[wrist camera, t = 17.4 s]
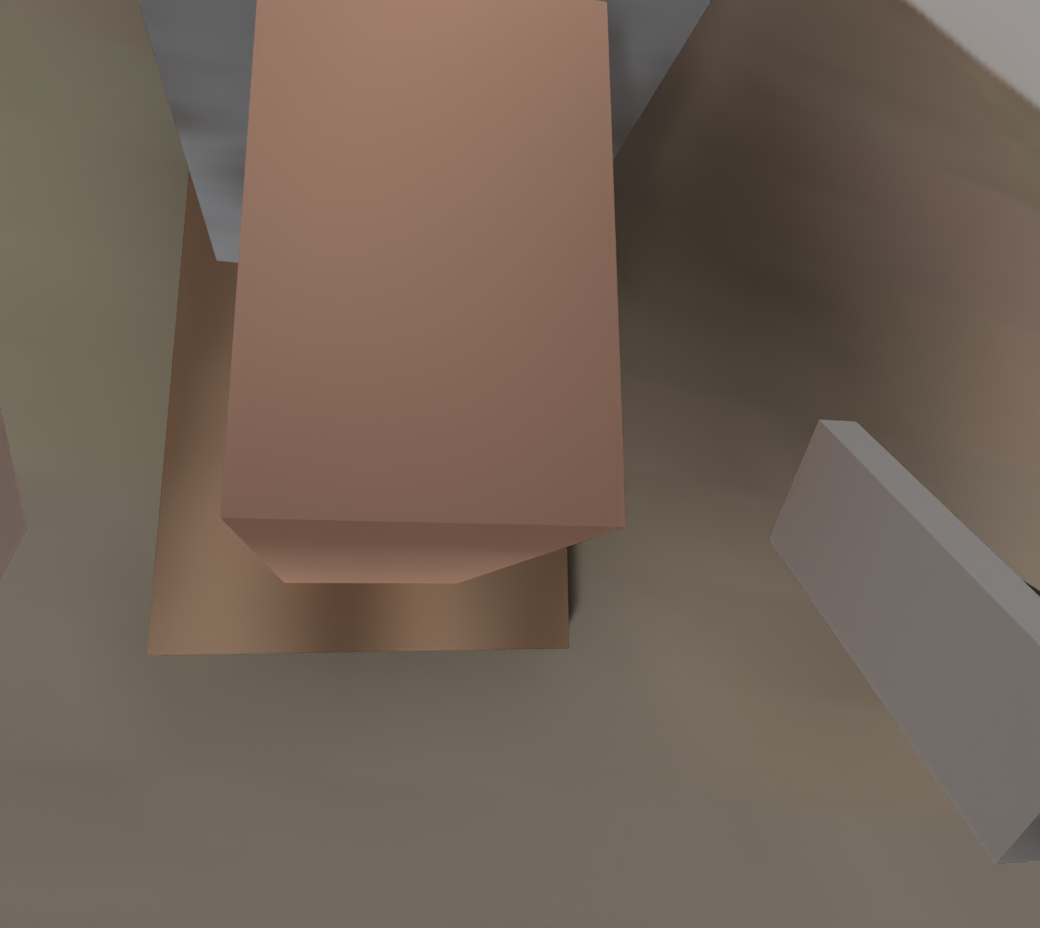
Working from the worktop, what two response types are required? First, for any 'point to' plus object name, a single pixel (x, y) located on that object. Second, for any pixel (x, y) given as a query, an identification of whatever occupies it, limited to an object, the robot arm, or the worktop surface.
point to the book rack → (207, 366)
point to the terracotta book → (425, 290)
